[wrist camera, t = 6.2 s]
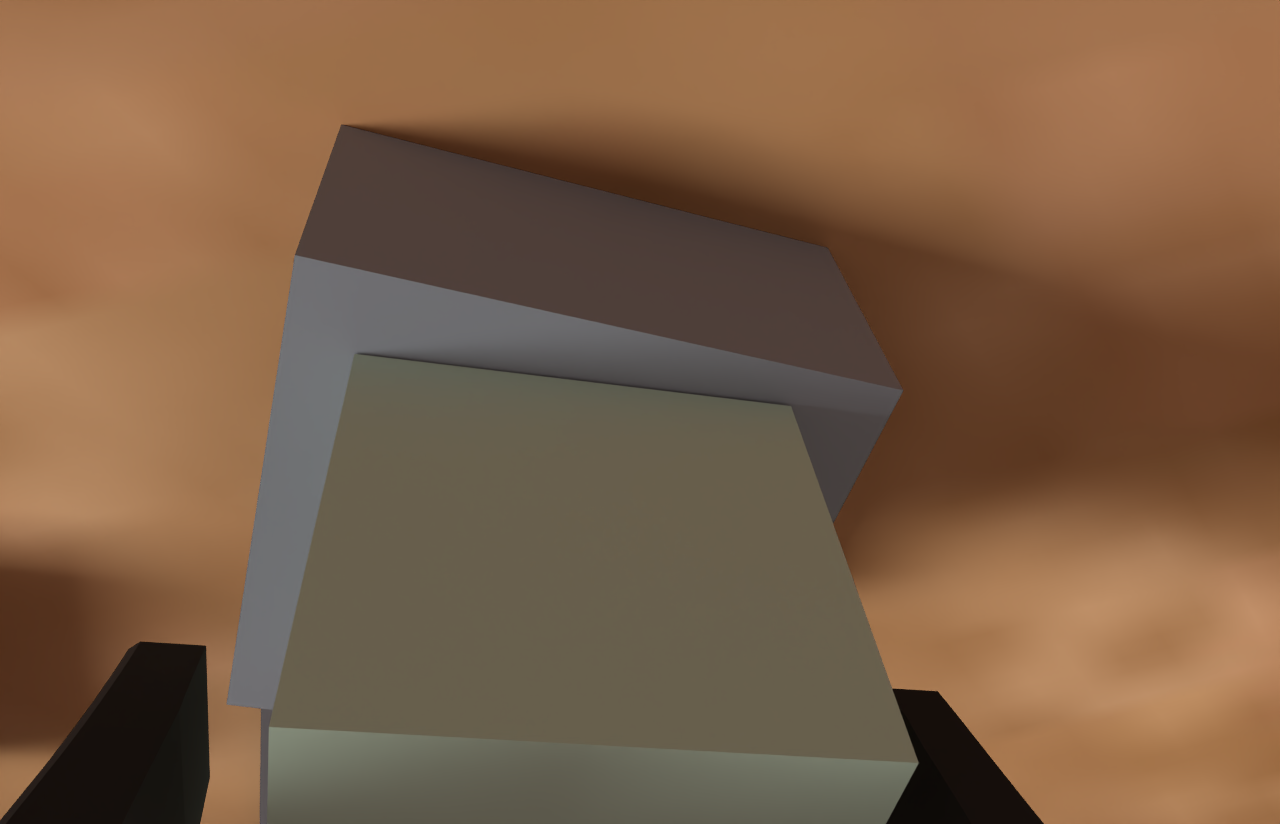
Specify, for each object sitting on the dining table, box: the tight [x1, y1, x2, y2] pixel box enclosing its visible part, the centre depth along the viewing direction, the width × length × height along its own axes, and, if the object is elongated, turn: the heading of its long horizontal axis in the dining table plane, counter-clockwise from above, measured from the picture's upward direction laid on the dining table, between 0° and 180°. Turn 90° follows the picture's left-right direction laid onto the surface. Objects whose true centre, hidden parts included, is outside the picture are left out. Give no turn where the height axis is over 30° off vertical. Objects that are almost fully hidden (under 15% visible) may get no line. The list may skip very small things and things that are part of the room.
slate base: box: [227, 125, 903, 710], centre depth 15 cm, size 7×7×4 cm
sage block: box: [267, 354, 919, 824], centre depth 12 cm, size 5×5×5 cm
